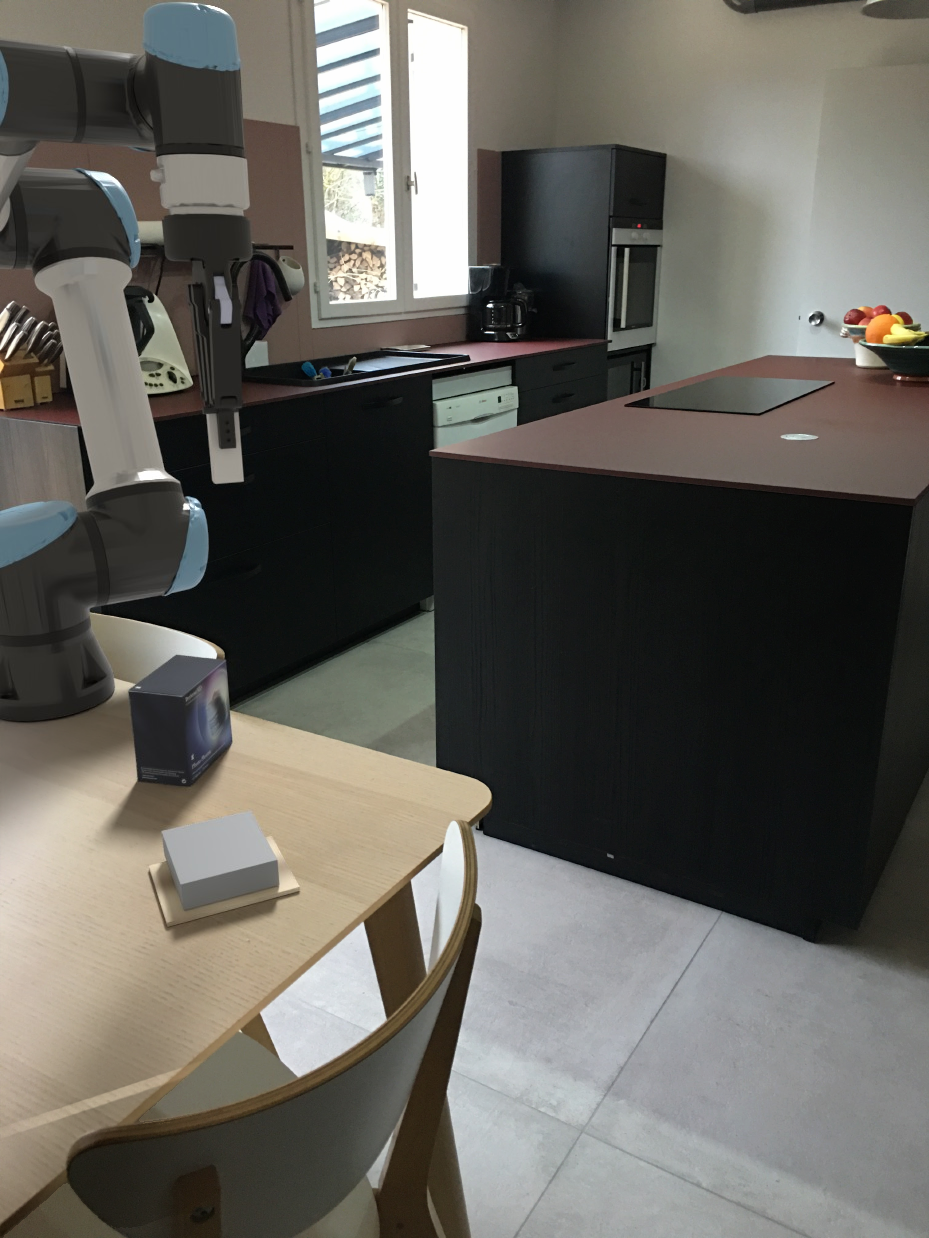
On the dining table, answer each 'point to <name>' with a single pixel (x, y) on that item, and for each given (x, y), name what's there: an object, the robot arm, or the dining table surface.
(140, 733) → the small box
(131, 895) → the dining table surface
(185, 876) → the grey square slab
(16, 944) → the dining table surface
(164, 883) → the cork mat
